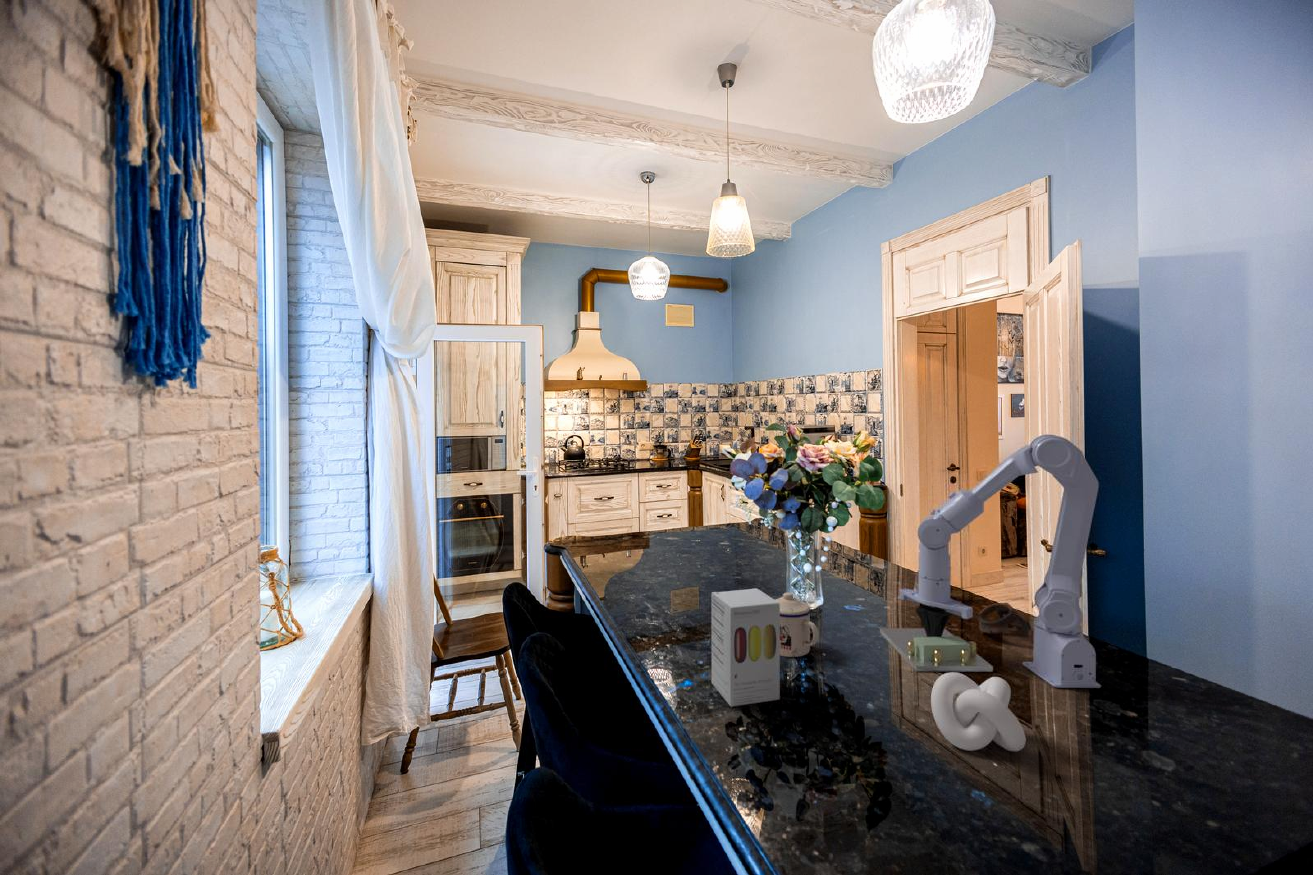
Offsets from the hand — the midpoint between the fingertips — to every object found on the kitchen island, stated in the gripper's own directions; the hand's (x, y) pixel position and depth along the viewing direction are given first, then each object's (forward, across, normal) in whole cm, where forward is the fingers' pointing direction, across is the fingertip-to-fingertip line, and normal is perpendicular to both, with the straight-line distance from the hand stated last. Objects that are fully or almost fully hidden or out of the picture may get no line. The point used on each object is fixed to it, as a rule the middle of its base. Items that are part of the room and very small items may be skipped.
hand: (934, 643), depth 112 cm
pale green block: (+1, -3, +2) cm, 4 cm away
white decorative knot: (+2, -22, +22) cm, 31 cm away
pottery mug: (+2, -3, -21) cm, 22 cm away
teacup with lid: (+2, +16, +23) cm, 28 cm away
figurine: (+2, +22, -30) cm, 37 cm away
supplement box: (+2, +8, +42) cm, 43 cm away
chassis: (+2, +1, -1) cm, 2 cm away
